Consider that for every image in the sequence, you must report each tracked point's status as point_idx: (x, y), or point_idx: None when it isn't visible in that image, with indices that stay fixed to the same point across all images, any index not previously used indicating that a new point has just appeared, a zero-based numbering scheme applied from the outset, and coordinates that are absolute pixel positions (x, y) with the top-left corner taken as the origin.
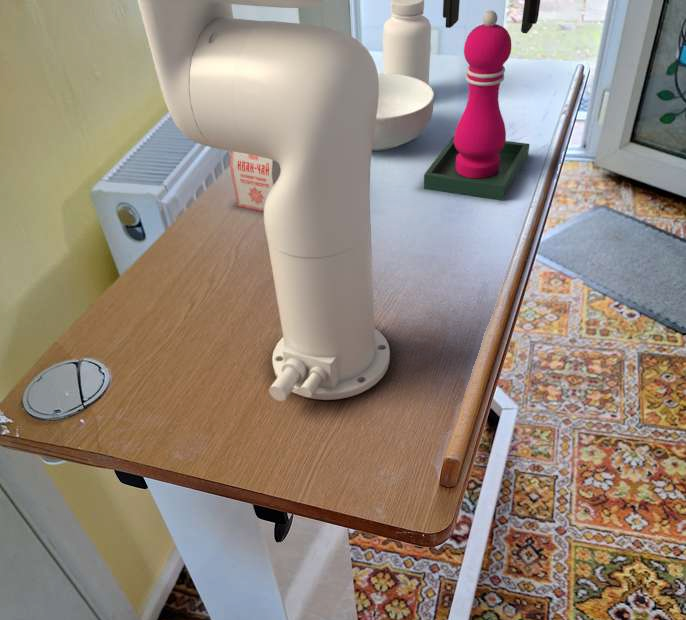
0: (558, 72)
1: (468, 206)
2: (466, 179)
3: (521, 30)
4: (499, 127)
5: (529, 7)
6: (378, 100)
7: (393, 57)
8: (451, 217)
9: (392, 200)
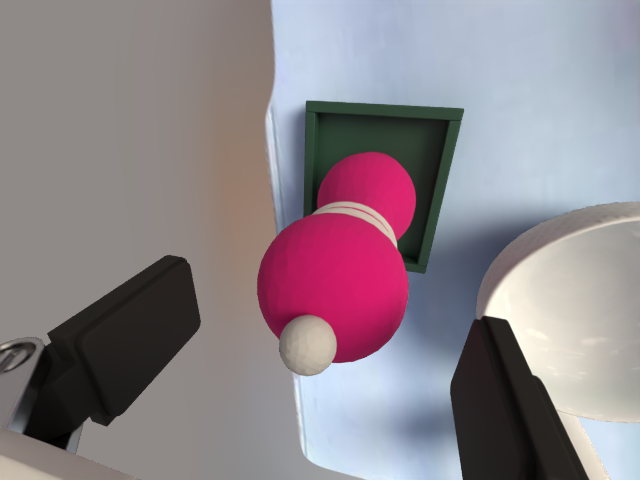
0: (322, 447)
1: (364, 62)
2: (375, 107)
3: (183, 262)
4: (321, 192)
5: (97, 301)
6: (599, 373)
7: (592, 472)
8: (387, 5)
9: (524, 37)
